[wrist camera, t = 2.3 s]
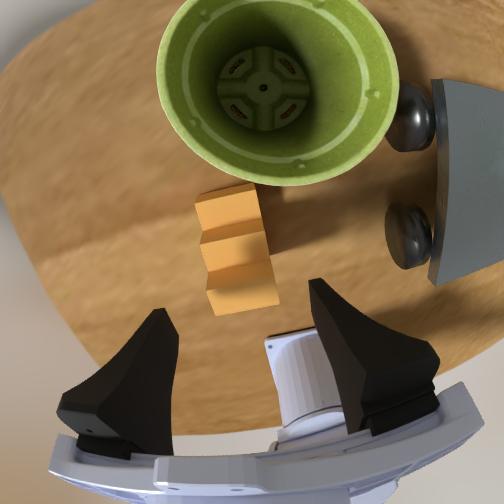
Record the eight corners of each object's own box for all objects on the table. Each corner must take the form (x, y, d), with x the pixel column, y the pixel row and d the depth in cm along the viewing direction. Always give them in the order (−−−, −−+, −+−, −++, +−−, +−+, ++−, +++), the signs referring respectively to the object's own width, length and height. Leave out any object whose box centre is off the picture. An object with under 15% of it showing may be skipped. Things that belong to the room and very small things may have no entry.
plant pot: (257, 3, 12) (272, -62, 5) (357, 91, 16) (434, 87, 8) (163, 98, 15) (108, 89, 8) (269, 181, 19) (293, 232, 11)
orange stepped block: (269, 255, 22) (279, 303, 16) (219, 265, 22) (215, 315, 17) (253, 182, 19) (260, 211, 14) (198, 194, 19) (184, 228, 14)
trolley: (484, 224, 21) (521, 251, 16) (383, 249, 22) (419, 291, 16) (487, 94, 15) (534, 102, 9) (373, 81, 15) (424, 76, 10)
